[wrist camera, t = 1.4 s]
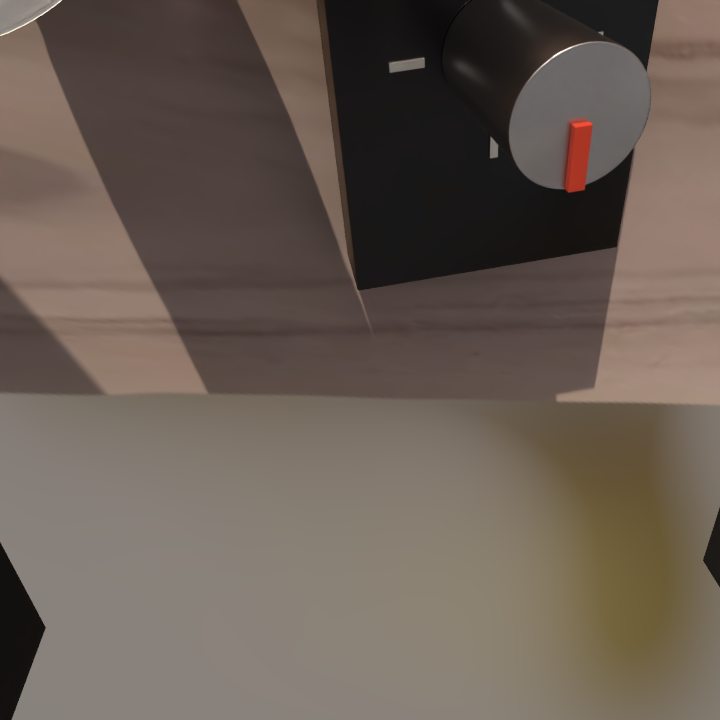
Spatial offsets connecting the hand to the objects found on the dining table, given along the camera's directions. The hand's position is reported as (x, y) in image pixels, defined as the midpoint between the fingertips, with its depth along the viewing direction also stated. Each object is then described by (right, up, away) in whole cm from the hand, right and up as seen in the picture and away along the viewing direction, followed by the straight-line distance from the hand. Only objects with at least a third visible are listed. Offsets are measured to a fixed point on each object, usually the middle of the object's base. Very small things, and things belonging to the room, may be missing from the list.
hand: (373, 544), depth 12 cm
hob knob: (+5, +15, +14) cm, 21 cm away
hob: (+5, +16, +18) cm, 25 cm away
